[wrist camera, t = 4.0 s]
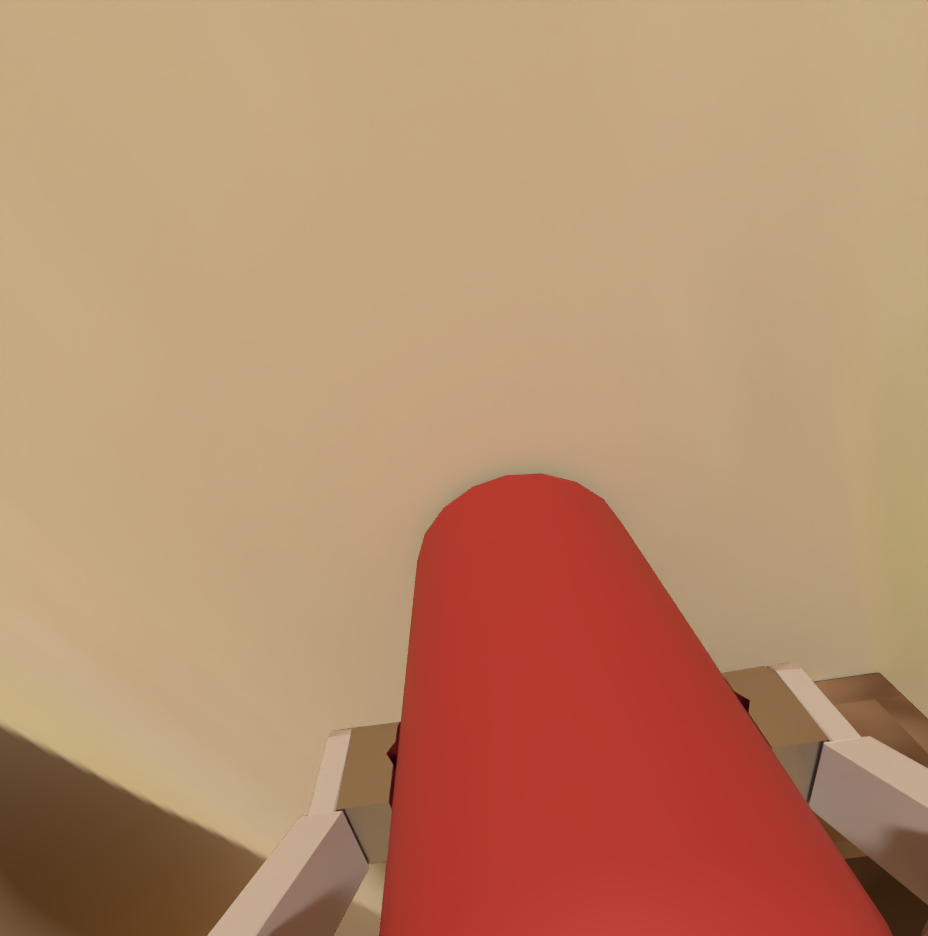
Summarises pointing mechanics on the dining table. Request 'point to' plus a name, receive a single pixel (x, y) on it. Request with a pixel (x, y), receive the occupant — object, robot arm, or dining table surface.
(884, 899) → the walnut box
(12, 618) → the dining table surface
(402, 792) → the beer can
